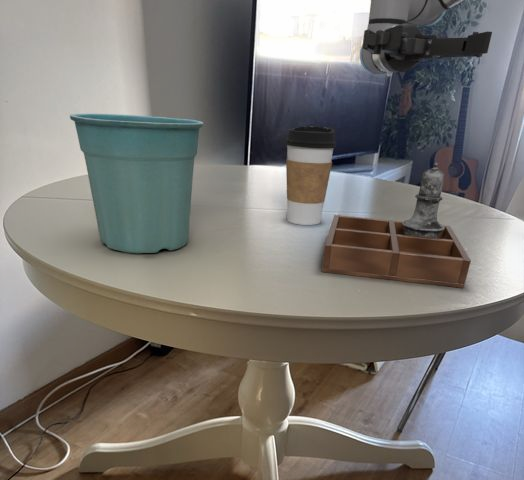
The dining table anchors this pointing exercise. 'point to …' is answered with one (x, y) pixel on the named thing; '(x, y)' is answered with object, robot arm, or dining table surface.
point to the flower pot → (139, 178)
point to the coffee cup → (308, 172)
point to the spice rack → (393, 253)
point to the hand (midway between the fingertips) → (443, 39)
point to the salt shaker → (426, 206)
